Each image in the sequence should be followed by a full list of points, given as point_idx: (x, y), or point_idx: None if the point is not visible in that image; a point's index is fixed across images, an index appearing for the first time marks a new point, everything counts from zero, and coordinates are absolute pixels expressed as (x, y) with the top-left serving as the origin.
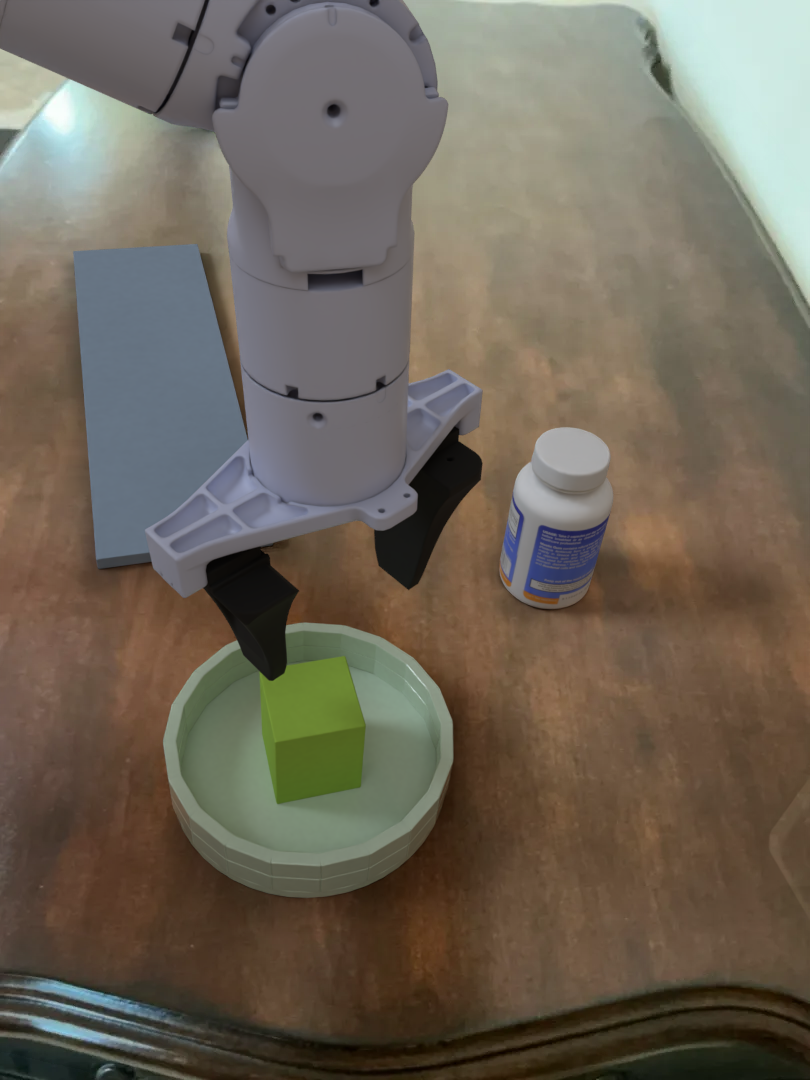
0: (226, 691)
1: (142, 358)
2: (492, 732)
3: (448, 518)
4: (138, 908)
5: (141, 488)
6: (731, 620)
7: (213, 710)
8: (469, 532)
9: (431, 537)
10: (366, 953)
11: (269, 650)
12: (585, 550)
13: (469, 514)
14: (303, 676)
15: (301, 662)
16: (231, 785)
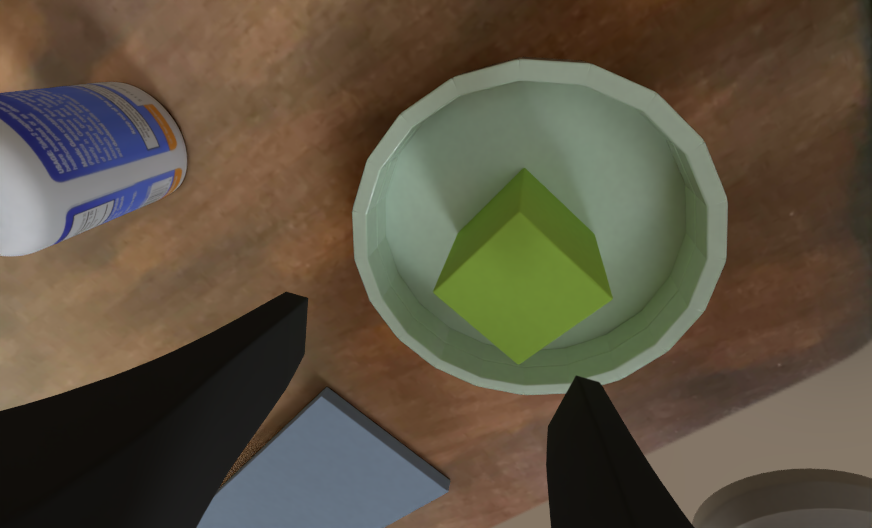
0: None
1: None
2: (355, 72)
3: (120, 375)
4: (768, 282)
5: (362, 497)
6: None
7: None
8: (165, 244)
9: (196, 365)
10: (723, 29)
11: (653, 476)
12: (39, 102)
13: (148, 256)
14: (494, 319)
15: (423, 303)
16: None
